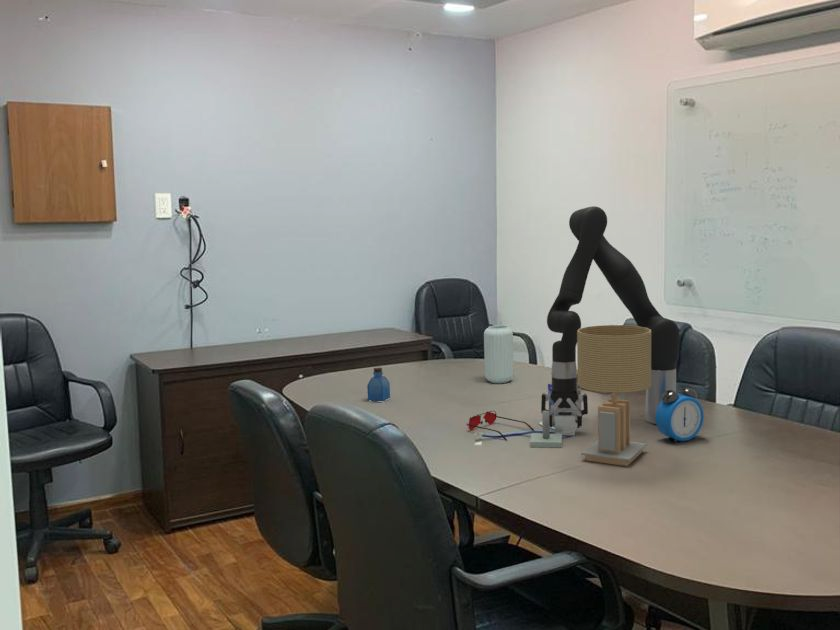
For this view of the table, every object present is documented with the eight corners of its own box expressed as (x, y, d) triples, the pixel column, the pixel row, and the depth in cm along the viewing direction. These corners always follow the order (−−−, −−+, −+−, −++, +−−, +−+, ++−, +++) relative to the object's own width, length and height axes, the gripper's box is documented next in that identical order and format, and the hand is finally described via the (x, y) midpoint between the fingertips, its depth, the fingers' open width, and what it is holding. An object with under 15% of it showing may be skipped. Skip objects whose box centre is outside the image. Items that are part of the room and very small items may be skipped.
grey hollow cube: (575, 430, 248) (574, 411, 247) (575, 435, 242) (575, 416, 241) (555, 429, 249) (555, 411, 248) (555, 435, 243) (554, 416, 242)
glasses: (494, 423, 261) (494, 408, 260) (535, 431, 249) (534, 416, 248) (465, 432, 251) (465, 417, 250) (506, 441, 239) (506, 425, 239)
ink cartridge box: (575, 416, 264) (575, 373, 262) (582, 420, 258) (582, 376, 256) (547, 419, 261) (547, 375, 260) (554, 423, 256) (553, 379, 254)
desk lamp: (638, 471, 207) (639, 337, 203) (567, 461, 218) (566, 333, 213) (659, 451, 224) (660, 327, 219) (592, 442, 234) (591, 323, 229)
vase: (494, 377, 329) (493, 324, 326) (518, 380, 322) (517, 325, 319) (479, 382, 320) (478, 327, 317) (504, 385, 313) (503, 329, 310)
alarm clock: (668, 445, 229) (668, 394, 227) (654, 439, 235) (654, 389, 233) (704, 438, 234) (704, 388, 232) (689, 433, 240) (690, 384, 238)
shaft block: (561, 438, 239) (561, 407, 238) (561, 447, 230) (561, 415, 229) (531, 438, 241) (531, 407, 239) (530, 447, 232) (529, 415, 231)
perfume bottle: (368, 401, 295) (366, 369, 293) (375, 397, 300) (373, 366, 299) (383, 402, 292) (381, 370, 291) (390, 398, 298) (388, 367, 297)
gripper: (587, 372, 245) (588, 424, 247) (540, 372, 248) (541, 423, 250) (588, 377, 238) (588, 431, 240) (540, 377, 241) (540, 430, 243)
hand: (564, 427), depth 245 cm, fingers open, 8 cm apart
